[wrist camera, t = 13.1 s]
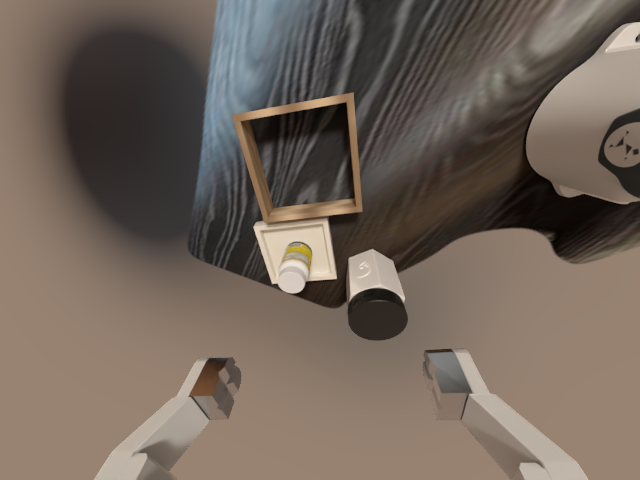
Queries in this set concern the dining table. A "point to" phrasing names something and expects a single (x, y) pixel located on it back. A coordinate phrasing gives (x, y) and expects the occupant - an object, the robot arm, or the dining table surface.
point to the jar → (374, 297)
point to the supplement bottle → (295, 267)
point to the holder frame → (258, 174)
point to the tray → (307, 230)
